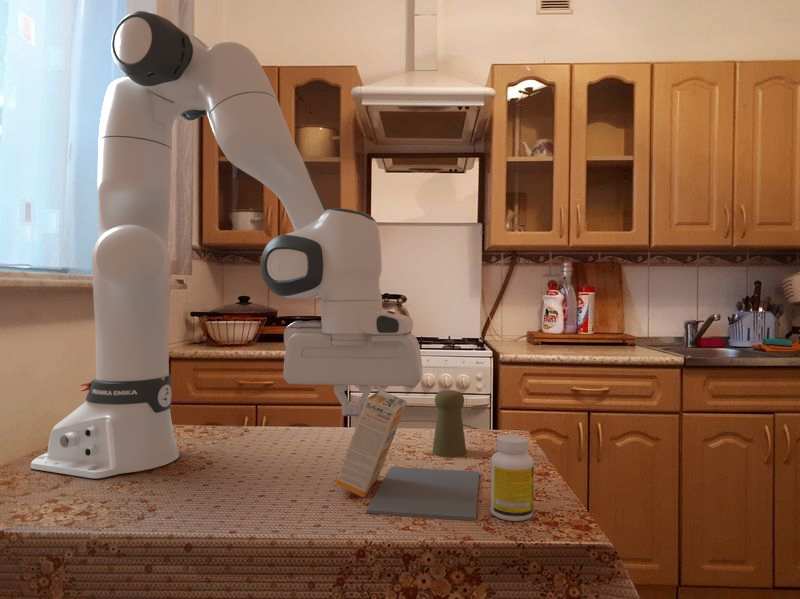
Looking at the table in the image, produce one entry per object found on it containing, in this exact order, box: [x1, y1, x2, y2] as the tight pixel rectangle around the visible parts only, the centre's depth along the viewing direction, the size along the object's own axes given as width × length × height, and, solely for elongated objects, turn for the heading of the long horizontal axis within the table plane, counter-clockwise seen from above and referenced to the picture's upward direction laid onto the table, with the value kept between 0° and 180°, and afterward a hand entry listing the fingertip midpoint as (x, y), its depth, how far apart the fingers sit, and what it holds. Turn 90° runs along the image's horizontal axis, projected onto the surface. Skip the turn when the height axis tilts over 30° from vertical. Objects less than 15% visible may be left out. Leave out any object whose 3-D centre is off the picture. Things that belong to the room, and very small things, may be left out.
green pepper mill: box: [432, 389, 467, 458], centre depth 98 cm, size 6×6×11 cm
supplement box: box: [334, 390, 408, 498], centre depth 80 cm, size 8×5×13 cm, turn 168°
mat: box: [365, 466, 480, 522], centre depth 79 cm, size 14×18×1 cm
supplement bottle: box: [490, 433, 535, 522], centre depth 71 cm, size 5×5×10 cm
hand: (353, 415), depth 81 cm, fingers closed
